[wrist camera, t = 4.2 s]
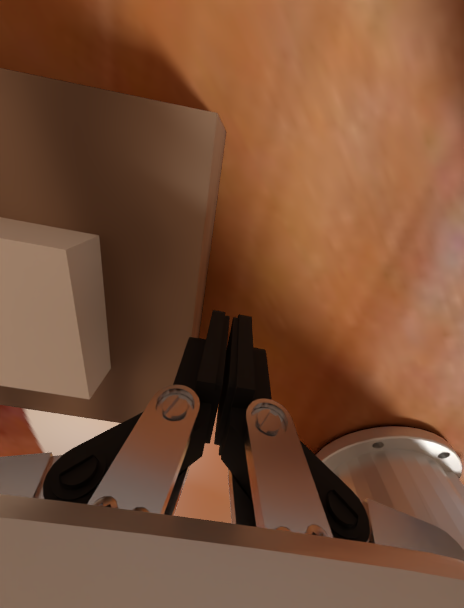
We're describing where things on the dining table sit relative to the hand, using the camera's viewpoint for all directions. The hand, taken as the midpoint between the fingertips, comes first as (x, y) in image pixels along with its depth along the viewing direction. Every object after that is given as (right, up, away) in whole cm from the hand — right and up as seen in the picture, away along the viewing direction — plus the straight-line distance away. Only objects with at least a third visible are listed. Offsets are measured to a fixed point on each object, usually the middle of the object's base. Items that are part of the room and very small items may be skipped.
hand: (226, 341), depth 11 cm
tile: (-9, +2, 0) cm, 10 cm away
